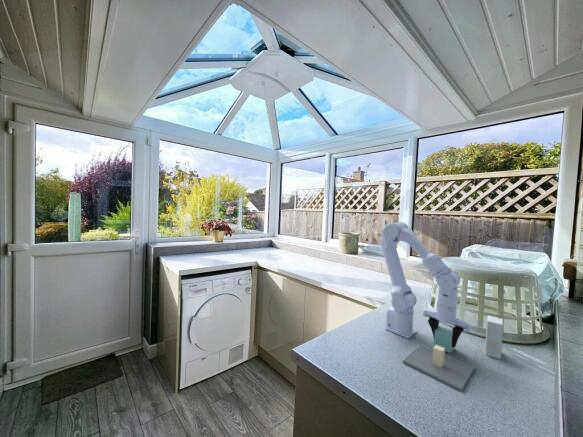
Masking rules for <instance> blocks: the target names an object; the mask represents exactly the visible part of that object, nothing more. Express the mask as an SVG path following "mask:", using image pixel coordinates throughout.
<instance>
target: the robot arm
mask: <svg viewBox="0 0 583 437" xmlns="http://www.w3.org/2000/svg"><path fill="white" fill-rule="evenodd" d="M381 233H382V237H381V242H380V243H381V244H380V245H381V250H382V253H383V257H384V260H385V263H386V267H387V269H388V274H389V277H390V280H391V281H390V282H391V284H392V289H391V292H390V294H391V302H390V303H391V305H390V306H388V308H387V311H386V318H385V320H386V323H385V327H384V329H385V330H387V331H389V332H392V333H393V334H396V335H398V336H402V337H404V338H405V339H410V338H411V337H412V336H413V335H415V334H416V333H417V332H418V331H417V329H416V330H415V328H414V307H415V305H416V304H417V297H416V294H414V292H413V291H412V288H411V287H410V286H409V285H408V283H407V280H406V277H405V274H404V270H403V267H402V264H401V260H400V256H399V254H398V250H397V245H398V244H399V242H404V243H407V245H408V246H410V247H411V248H412V249H413V251H415V252H416V253H417V254H418V256H420V257H421V258H422V264H423V265H424V266H425V267H426V269H427V270H428V271H429V272H430V273H431V275H432V276H433V277H434V278H436V281H435V282H436V285H437V286H438V293H437V294H438V295H437V296H438V297H437V307H436V309H437V310H436V311H431V310H426V309H425V310H424V311H423V315H422V316H423V317H424V318H428V320H427V323H428V325H429V327H430V329H431V332H432V336H433V338H434V335H435V329H437V328H438V327H439V326H440V323H443V324H447V325H450V326H452V327H453V328H452V329H451V330H452V331H453V341H452V347H454V349H455V348H456V346H457V344H458V341H459V338H460V337H461V334H462V333H463V332H464V331H465V330H466V332H471V331H472V324H471V323H469V322H466V321H464V320H461V319H459V318H457V309H458V308H457V307H458V290H459V289H458V287H459V285H460V283H461V277H460V275H459V274H458V272H457V271H455V270H453V269H452V268H451V267H449V266H447V265H446V263H445V262H444V261H443V260H442V259H443V258H442V256H440V255H438V254H436V253H431V252H430V251H429V250H428V248H427V247H426V246H425V245H424V244H423V242H422V241H421V239H420V238H419V237H418V236H417V235H416V234H415V232H414V230H412V228H410V227H409V226H408V225H407V223H405V222H389V223H386V225H384V227H383V229H382V230H381Z"/></svg>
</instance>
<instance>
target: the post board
mask: <svg viewBox="0 0 583 437" xmlns="http://www.w3.org/2000/svg"><path fill="white" fill-rule="evenodd" d="M402 363H403V364H405V365H407V366H409V367H411V368H413V369H415V370H416V371H418V372H420V373H423V374H425V375H427V376H429V377H430V378H433V379H434V380H435V379H436V380H437V381H439V382H441V383H443V384H446V385H447V386H450V387H451V388H453V389H455V390H457V391H459V392H461V393H462V392H463V390H464V389H465V387H466V386H467V384H468V382H469V380H470V379H471V377H472V375H473V373H474V372H475V370H476V369H475V367H474V366H472V365H469V364H467V363H465V362H463V361H461V360H457V359H455V358H452V357H451V356H449V355H446V351H445V348H443V347H441V346H438V345H435V346H434V345H433V346H432V349H431V348H429V347H426V346H424V345H422V344H419V345H418V346H417V347H416V348H415V349H414V350H413V351H411V352H410V353H409V354H408V355H407V356H406V357H405V358H404V359H403V360H402Z"/></svg>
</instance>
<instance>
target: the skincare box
mask: <svg viewBox="0 0 583 437" xmlns="http://www.w3.org/2000/svg"><path fill="white" fill-rule="evenodd" d="M486 318H487V319H486V320H487V321H486V331H485V332H486V333H485V352H484V353H485V355H486V356H489V357H492V358H495V359H499V360H502V350H503V348H502V346H503V331H504V330H503V329H504V321H503V318H499V317H496V316H493V315H492V316H491V315H487V316H486Z"/></svg>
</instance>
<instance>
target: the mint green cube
mask: <svg viewBox="0 0 583 437" xmlns="http://www.w3.org/2000/svg"><path fill="white" fill-rule="evenodd" d="M433 340H434V341H433V347H434V346H435V345H438V346H441V347H443V348H445V353H449V354H451V353H453V350H454V349H455V348H454V347H452V341H453V331H452V329H450V328H448V327H445V326H443V325H439V327H438V328H437V329H435V335H434V337H433Z"/></svg>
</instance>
